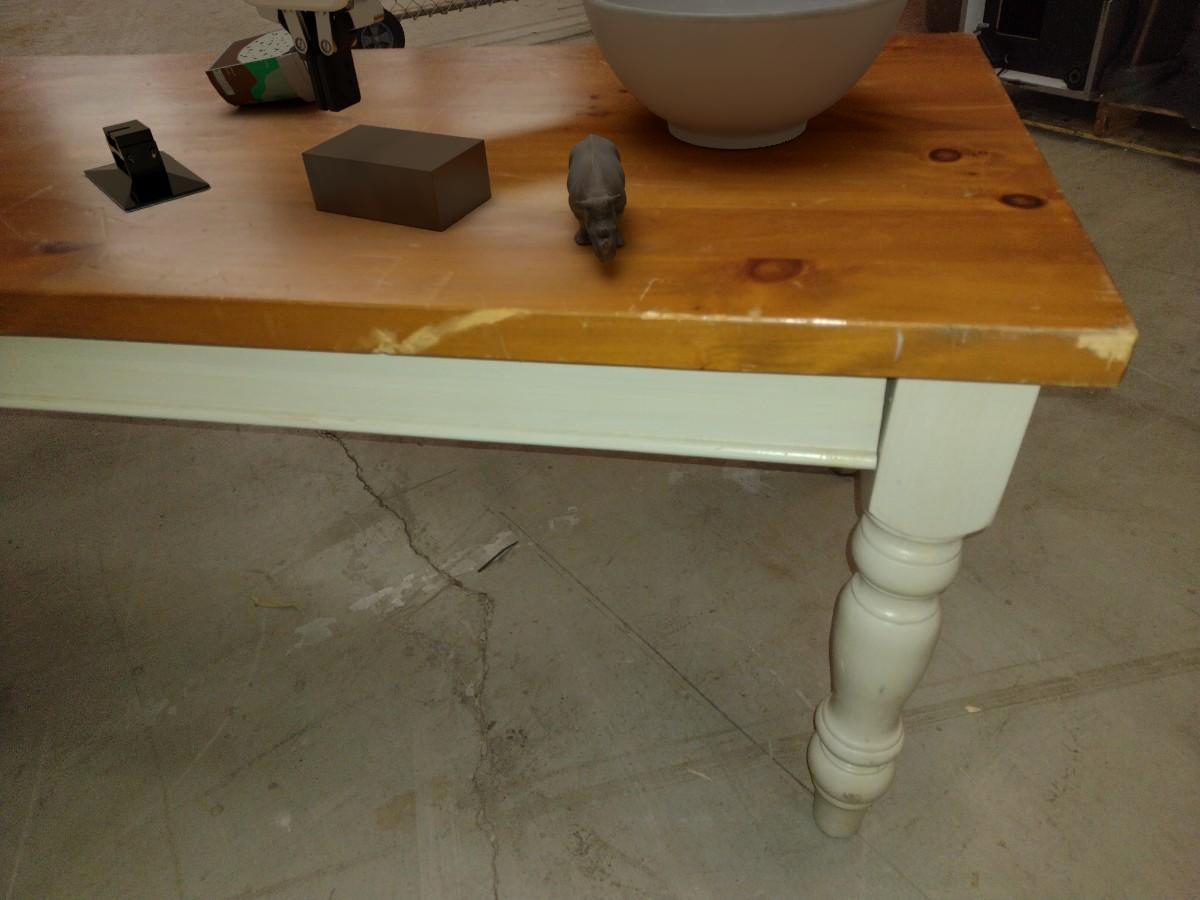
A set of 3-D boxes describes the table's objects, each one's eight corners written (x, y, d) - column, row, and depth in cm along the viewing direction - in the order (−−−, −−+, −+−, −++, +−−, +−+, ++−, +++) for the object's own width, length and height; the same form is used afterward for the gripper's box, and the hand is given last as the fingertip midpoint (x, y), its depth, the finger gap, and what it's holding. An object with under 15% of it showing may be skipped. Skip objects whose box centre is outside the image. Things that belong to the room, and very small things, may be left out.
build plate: (84, 175, 78) (62, 122, 75) (166, 154, 81) (148, 103, 78) (126, 212, 70) (102, 155, 67) (214, 187, 73) (196, 131, 70)
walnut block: (300, 152, 65) (431, 171, 61) (359, 124, 70) (484, 139, 66) (315, 209, 68) (441, 231, 64) (371, 178, 73) (492, 196, 69)
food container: (230, 137, 89) (322, 116, 88) (199, 76, 85) (295, 54, 84) (261, 93, 98) (345, 74, 97) (235, 37, 94) (322, 16, 93)
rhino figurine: (572, 289, 56) (565, 198, 52) (569, 204, 66) (563, 125, 63) (635, 284, 56) (633, 194, 52) (622, 201, 66) (619, 121, 63)
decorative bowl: (629, 80, 92) (626, -50, 84) (893, 87, 85) (914, -53, 78) (549, 172, 72) (535, 12, 64) (886, 191, 65) (914, 15, 58)
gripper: (140, -187, 55) (231, 112, 66) (324, -197, 49) (389, 131, 60) (228, -194, 60) (299, 84, 71) (403, -204, 54) (450, 100, 65)
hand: (340, 105), depth 66 cm, fingers closed
